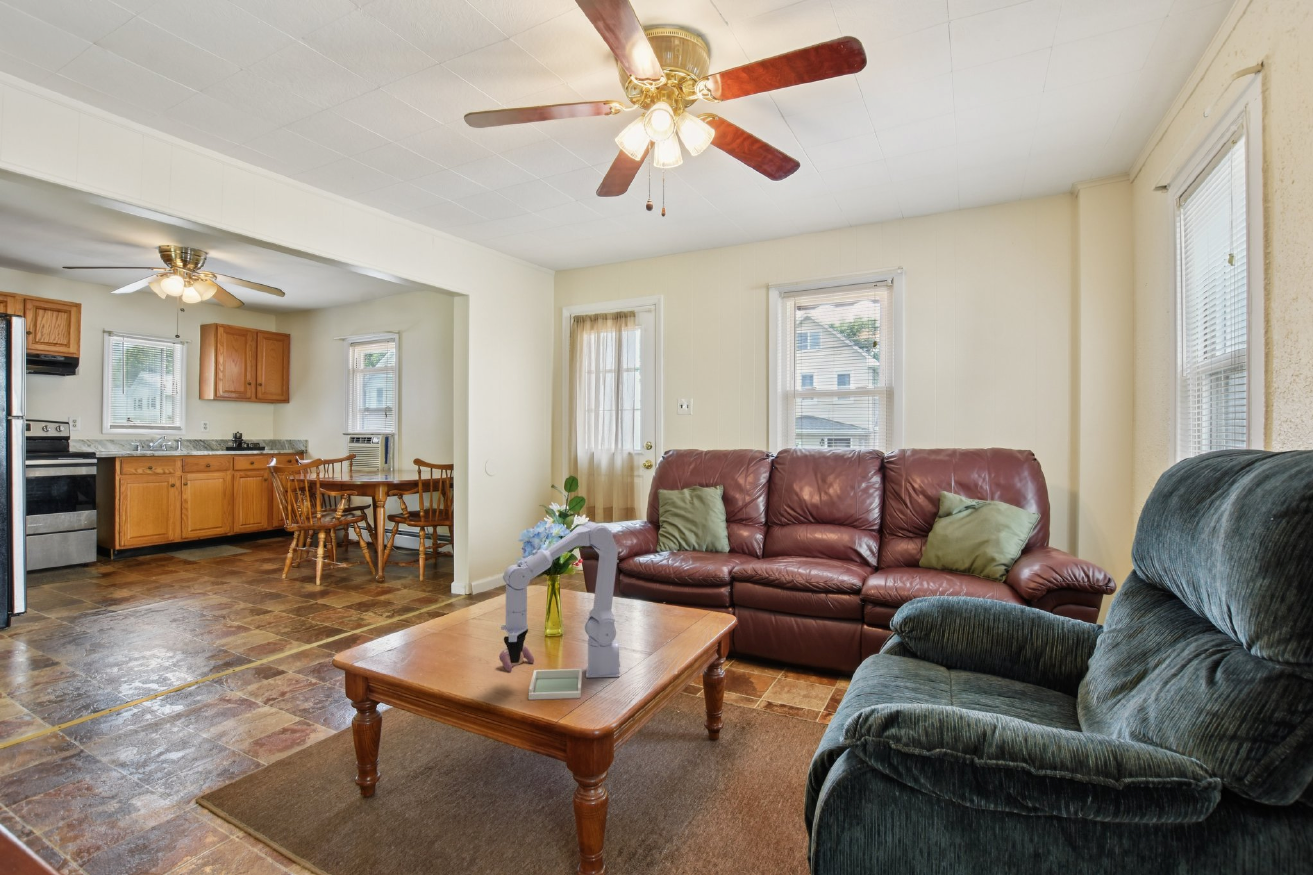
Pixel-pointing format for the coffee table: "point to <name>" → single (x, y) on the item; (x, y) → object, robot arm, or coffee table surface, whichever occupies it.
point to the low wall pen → (555, 675)
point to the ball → (519, 660)
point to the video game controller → (506, 663)
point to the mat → (556, 685)
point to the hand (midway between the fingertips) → (516, 659)
